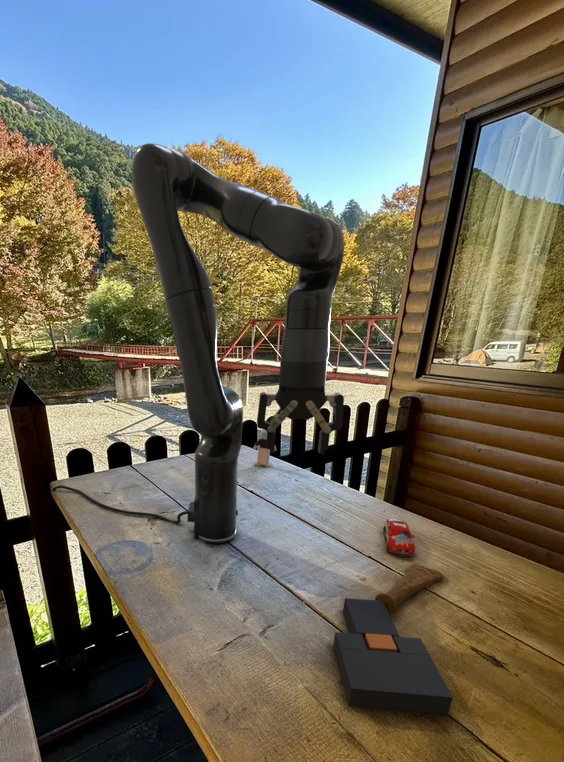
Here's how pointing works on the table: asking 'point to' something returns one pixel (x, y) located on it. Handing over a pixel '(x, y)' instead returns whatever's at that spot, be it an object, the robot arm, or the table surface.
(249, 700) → the table surface
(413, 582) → the primitive tool
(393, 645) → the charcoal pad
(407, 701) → the black pad
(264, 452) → the grandmother figurine
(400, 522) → the race car
